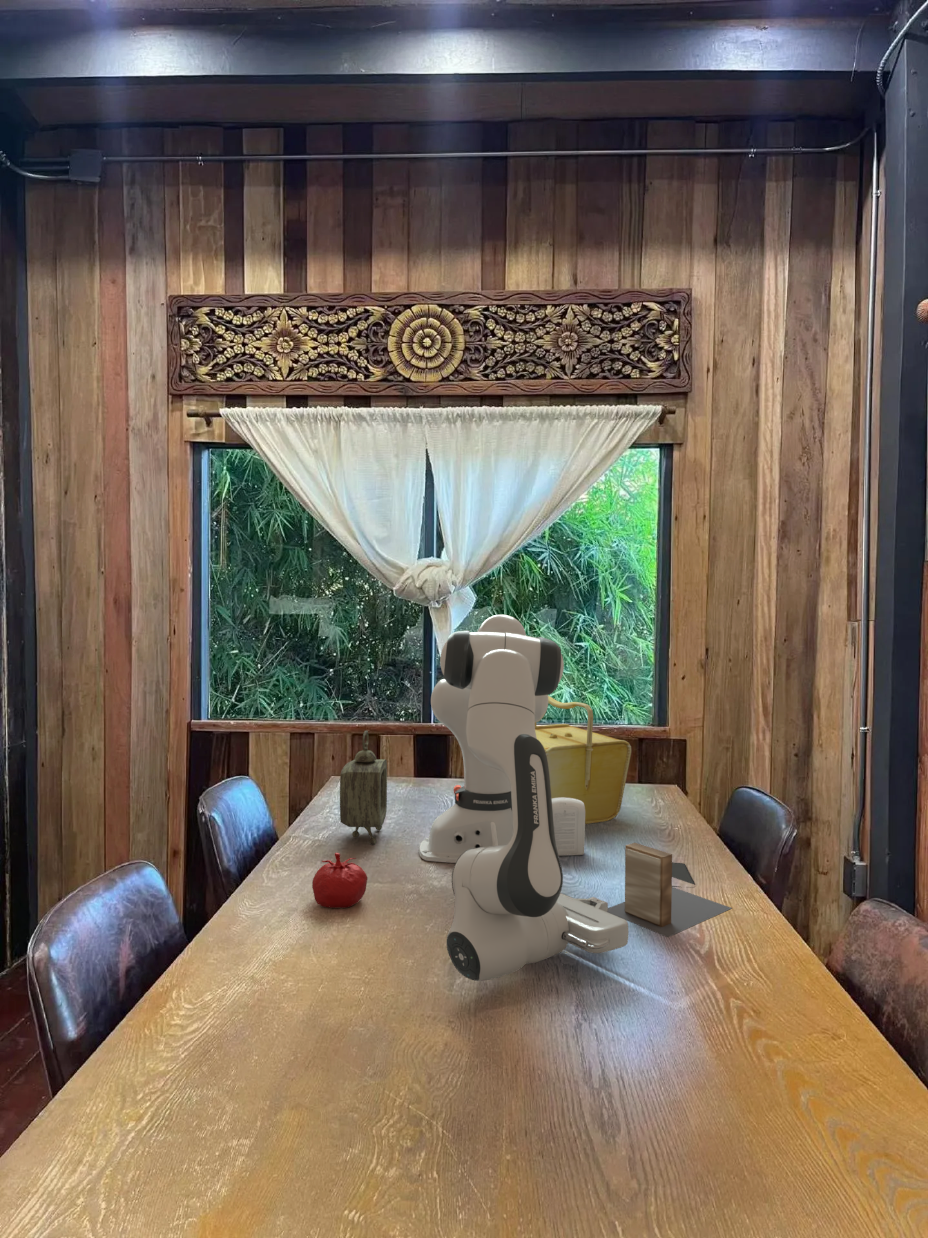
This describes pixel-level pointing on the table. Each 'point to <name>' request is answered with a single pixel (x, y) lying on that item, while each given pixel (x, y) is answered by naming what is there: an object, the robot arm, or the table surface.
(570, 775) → the picnic basket
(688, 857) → the table surface
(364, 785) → the tabletop clock
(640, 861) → the wooden block
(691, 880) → the smartphone
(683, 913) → the mat
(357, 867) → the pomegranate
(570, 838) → the photo printer
